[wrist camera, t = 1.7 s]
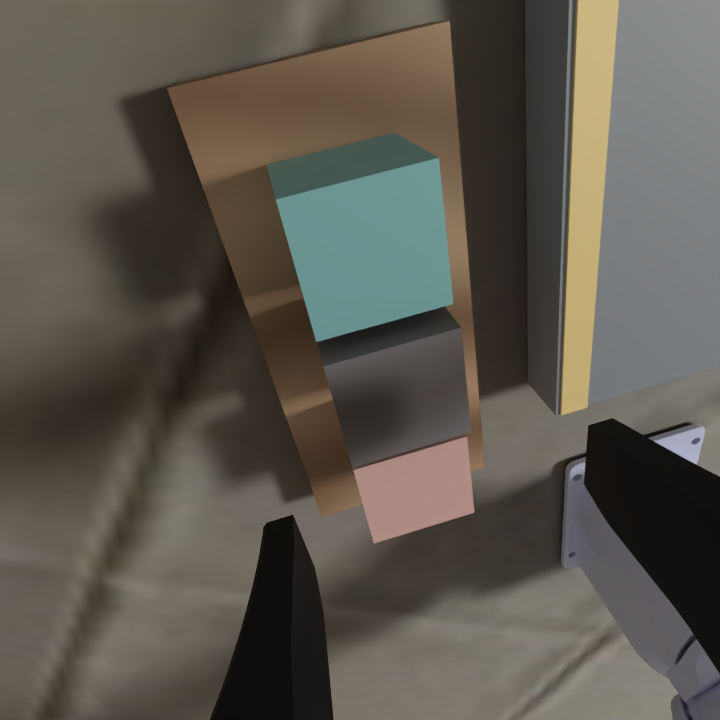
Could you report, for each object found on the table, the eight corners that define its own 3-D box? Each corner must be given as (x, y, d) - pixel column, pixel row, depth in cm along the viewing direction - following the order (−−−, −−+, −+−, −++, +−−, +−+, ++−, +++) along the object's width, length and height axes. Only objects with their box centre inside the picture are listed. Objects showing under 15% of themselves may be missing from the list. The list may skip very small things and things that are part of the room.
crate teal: (412, 254, 18) (453, 303, 14) (300, 284, 17) (316, 341, 14) (394, 132, 15) (438, 157, 12) (266, 164, 15) (275, 199, 12)
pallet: (468, 440, 26) (530, 545, 20) (316, 485, 25) (338, 606, 20) (427, 22, 16) (526, 13, 10) (173, 83, 15) (141, 106, 10)
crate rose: (439, 443, 23) (474, 512, 19) (353, 469, 23) (373, 543, 19) (429, 372, 21) (467, 436, 17) (333, 399, 20) (353, 470, 17)
